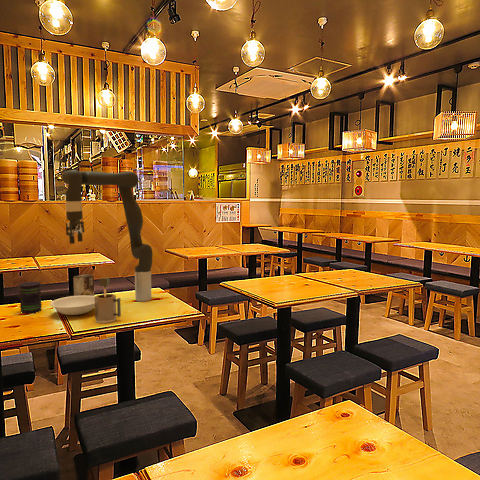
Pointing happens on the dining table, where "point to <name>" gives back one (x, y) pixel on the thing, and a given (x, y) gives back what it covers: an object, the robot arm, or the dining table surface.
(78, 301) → the soup bowl
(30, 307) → the storage jar
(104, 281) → the plunger
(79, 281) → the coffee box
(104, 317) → the brown mug
